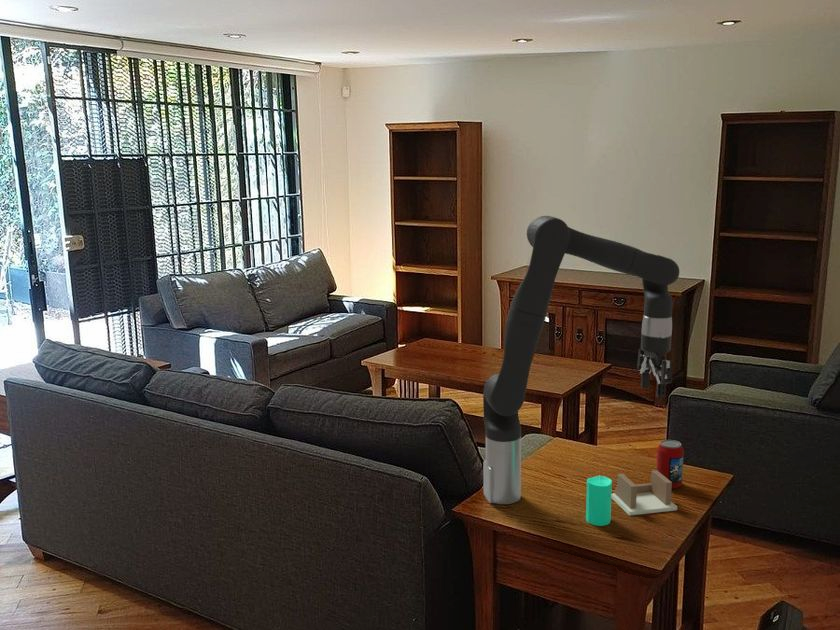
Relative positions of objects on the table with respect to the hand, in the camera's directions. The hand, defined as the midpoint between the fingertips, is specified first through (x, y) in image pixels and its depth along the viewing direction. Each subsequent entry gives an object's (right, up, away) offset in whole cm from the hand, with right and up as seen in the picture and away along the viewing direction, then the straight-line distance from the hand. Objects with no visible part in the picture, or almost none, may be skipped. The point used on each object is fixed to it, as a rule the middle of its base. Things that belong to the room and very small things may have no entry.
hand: (652, 392), depth 211 cm
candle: (-17, -31, -13) cm, 38 cm away
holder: (-4, -28, -5) cm, 29 cm away
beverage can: (+6, -26, +6) cm, 27 cm away
